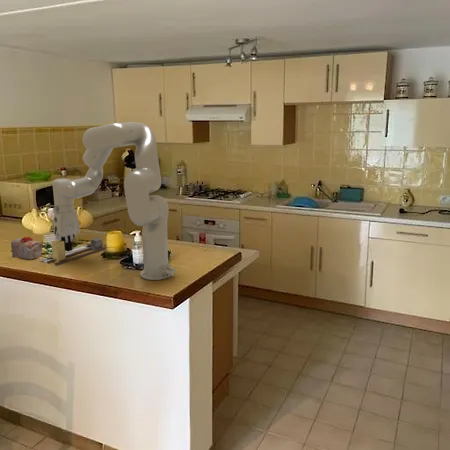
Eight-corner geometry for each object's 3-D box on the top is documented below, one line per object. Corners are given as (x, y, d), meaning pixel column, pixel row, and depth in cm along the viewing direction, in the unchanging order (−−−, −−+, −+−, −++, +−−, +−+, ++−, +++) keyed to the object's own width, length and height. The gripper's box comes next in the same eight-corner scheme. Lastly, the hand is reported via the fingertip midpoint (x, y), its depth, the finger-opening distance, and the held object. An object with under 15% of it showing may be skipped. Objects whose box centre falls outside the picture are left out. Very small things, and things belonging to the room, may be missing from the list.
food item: (46, 258, 203) (44, 236, 200) (31, 263, 196) (29, 241, 194) (24, 254, 209) (21, 233, 206) (9, 259, 202) (6, 237, 199)
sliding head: (65, 261, 194) (64, 240, 192) (58, 263, 191) (56, 243, 189) (52, 257, 199) (50, 237, 197) (45, 260, 196) (43, 239, 194)
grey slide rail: (108, 251, 213) (107, 238, 211) (53, 269, 188) (52, 255, 187) (90, 247, 219) (89, 234, 217) (35, 264, 194) (33, 250, 193)
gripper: (55, 212, 184) (59, 256, 189) (84, 206, 196) (88, 247, 201) (43, 210, 188) (47, 253, 193) (73, 204, 200) (76, 244, 205)
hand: (68, 250), depth 197 cm, fingers closed
